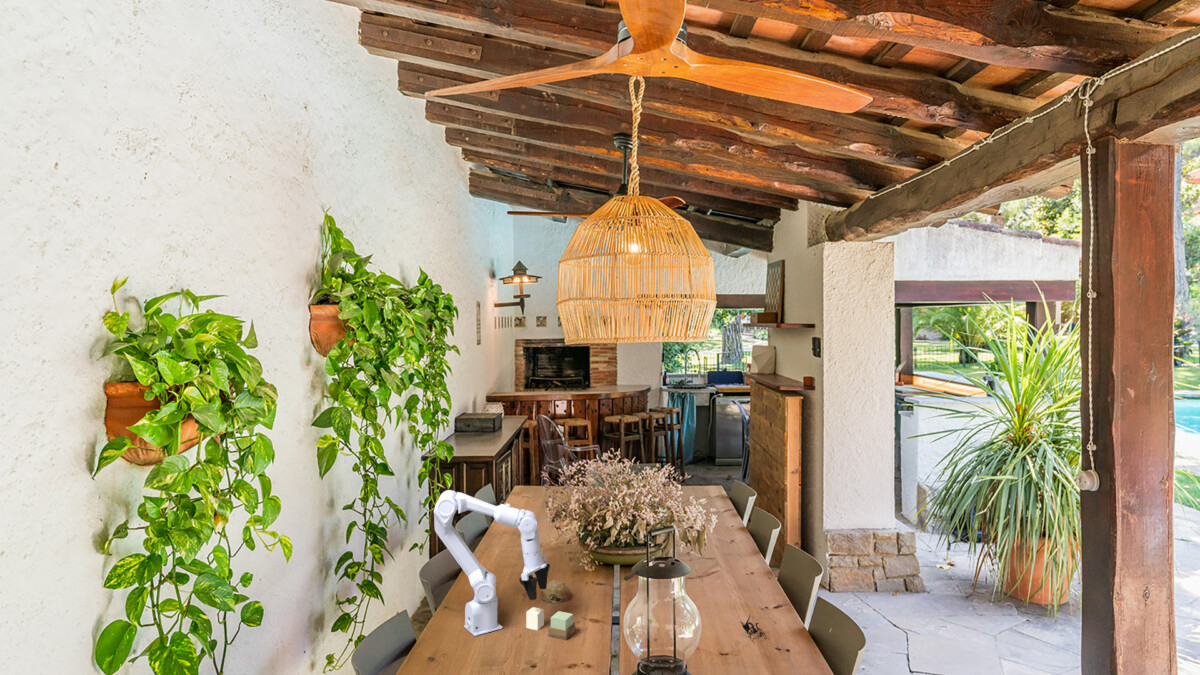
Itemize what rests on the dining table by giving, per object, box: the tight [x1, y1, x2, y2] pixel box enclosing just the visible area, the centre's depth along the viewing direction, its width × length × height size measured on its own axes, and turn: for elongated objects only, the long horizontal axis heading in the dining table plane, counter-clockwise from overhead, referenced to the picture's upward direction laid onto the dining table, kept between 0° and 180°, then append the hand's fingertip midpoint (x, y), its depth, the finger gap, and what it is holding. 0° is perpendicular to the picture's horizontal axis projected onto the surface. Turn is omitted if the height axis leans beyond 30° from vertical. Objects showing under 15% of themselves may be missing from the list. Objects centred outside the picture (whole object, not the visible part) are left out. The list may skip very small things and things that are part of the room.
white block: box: [525, 606, 545, 631], centre depth 204 cm, size 4×4×5 cm
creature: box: [740, 614, 767, 640], centre depth 199 cm, size 8×5×8 cm
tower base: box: [547, 622, 576, 641], centre depth 199 cm, size 6×6×3 cm
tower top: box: [550, 610, 574, 630], centre depth 199 cm, size 5×5×3 cm
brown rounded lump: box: [540, 578, 571, 604], centre depth 227 cm, size 10×10×8 cm
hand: (538, 593), depth 205 cm, fingers open, 7 cm apart
